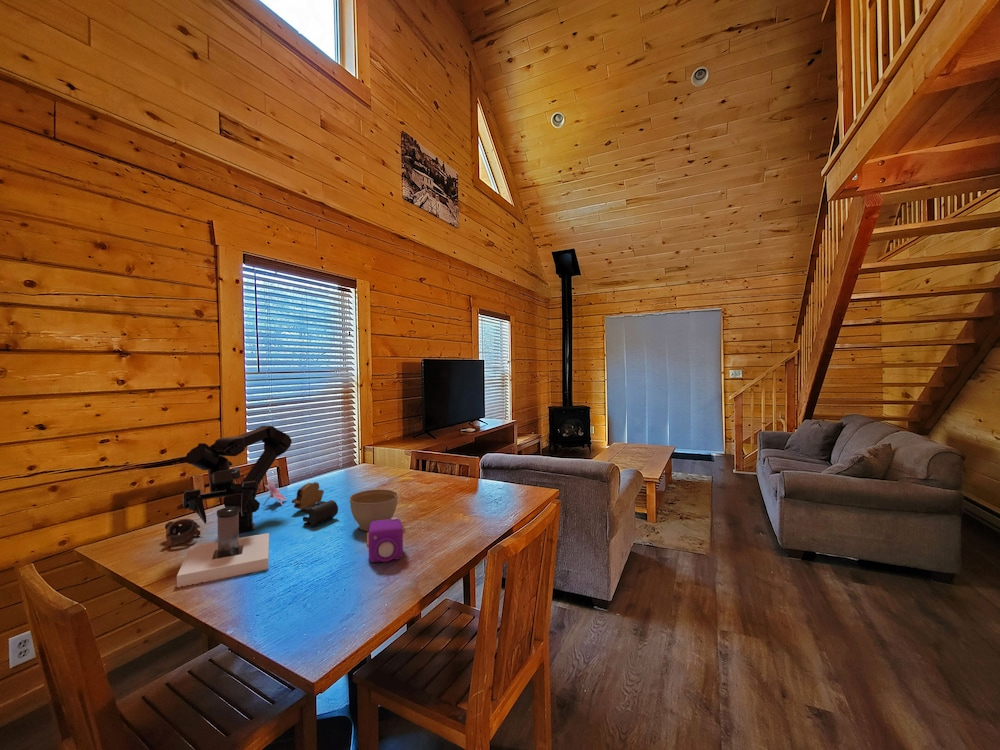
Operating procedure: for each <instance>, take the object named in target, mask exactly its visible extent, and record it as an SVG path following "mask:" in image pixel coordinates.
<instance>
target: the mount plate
mask: <svg viewBox="0 0 1000 750" xmlns="http://www.w3.org/2000/svg"><path fill="white" fill-rule="evenodd" d="M269 558H270V533H269V532H268V533H267V532H266V533H261V534H256V535H249V536H243V537H239V555H234V556H229V557H223V558H218V541H215V542H214V541H213V542H209V543H202V544H196V545H191V546H190V547H189V550H188V551H187V554H186V556H185V558H184V559H183V562H182V564H181V566H180V569H179V571H178V572H177V574H176V588H177V587H178V588H182V587H181V586H183V587H187V585H188V586H192V584H193V585H196V584H197V585H198V584H202V583H201V582H203V583H206V582H211V581H216V580H221V579H226V578H231V577H235V576H241V575H246V574H249V573H251V574H252V573H254V572H255V573H256V572H259V571H260V572H261V571H265V570H269V564H270V563H269V561H270V559H269Z"/></svg>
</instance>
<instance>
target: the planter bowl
mask: <svg viewBox="0 0 1000 750" xmlns="http://www.w3.org/2000/svg"><path fill="white" fill-rule="evenodd" d="M398 497H399V493H398V492H397V491H394V490H391V489H384V488H383V489H380V488H379V489H367V490H361V491H359V492H355V493H354V494H352V495H351V496H350V497H349V503H350V510H351V514H352V516H353V518H354V521H355V522H356V523H357V524H358V526H359V529H360V530H361V531H364V532H369V525H370V523H371V522H373V521H377V520H387V519H391V518H393V517H394V514H395V512H396V510H397V505H398V499H399V498H398Z"/></svg>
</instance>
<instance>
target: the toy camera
mask: <svg viewBox="0 0 1000 750" xmlns="http://www.w3.org/2000/svg"><path fill="white" fill-rule="evenodd" d="M403 531H404V529H403V524H402V521H401V519H399V518H397V517H395V516H393V517H392V518H391V519H387V520H377V521H373V522H371V523H370V525H369V531H368V532H366V548H368V559H369V561H370V562H371V563H379V562H380V561H381V562H383V563H384V562H385V563H386V562H390V561H393V560H392V559H395V560H397V559H396V558H399V559H401V558H402V557H403V553H404V552H403V551H404V538H403V537H404V534H403V533H404V532H403ZM400 557H401V558H400Z"/></svg>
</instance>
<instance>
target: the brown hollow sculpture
mask: <svg viewBox="0 0 1000 750" xmlns="http://www.w3.org/2000/svg"><path fill="white" fill-rule="evenodd" d="M164 528H165V530H166V531H165V538H166V543H165V545H166V547H167V546H170V547H171V548H172V546H173V545H174V546H175V545H178V544H180V543H185V542H186V541H187V540H189V539H191V538H192V537H194V536H197V535H200V536H201V533H202V532H201V530H199V528H201V526H200V525H199V524H198V522H196V521H195V520H193V519H192V518H181V519H177V520H175V521H168V522H167V523H166V524H165V525H164Z"/></svg>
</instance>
